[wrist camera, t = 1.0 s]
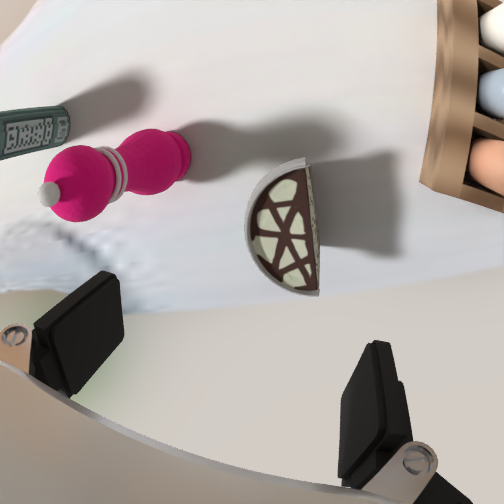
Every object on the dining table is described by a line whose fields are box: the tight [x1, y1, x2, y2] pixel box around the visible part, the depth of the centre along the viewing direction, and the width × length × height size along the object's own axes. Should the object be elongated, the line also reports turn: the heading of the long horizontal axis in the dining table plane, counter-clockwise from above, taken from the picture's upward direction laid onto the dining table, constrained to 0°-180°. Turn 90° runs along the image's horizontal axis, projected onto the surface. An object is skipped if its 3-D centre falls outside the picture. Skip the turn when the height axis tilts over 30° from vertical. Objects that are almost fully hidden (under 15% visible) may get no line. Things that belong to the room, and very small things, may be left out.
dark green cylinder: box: [0, 106, 70, 160], centre depth 30 cm, size 6×6×15 cm
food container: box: [244, 157, 320, 297], centre depth 30 cm, size 12×6×10 cm, turn 9°
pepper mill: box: [38, 129, 191, 222], centre depth 26 cm, size 7×7×20 cm
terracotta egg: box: [466, 138, 504, 195], centre depth 21 cm, size 5×5×6 cm
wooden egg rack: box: [419, 0, 504, 213], centre depth 22 cm, size 24×12×5 cm, turn 173°
